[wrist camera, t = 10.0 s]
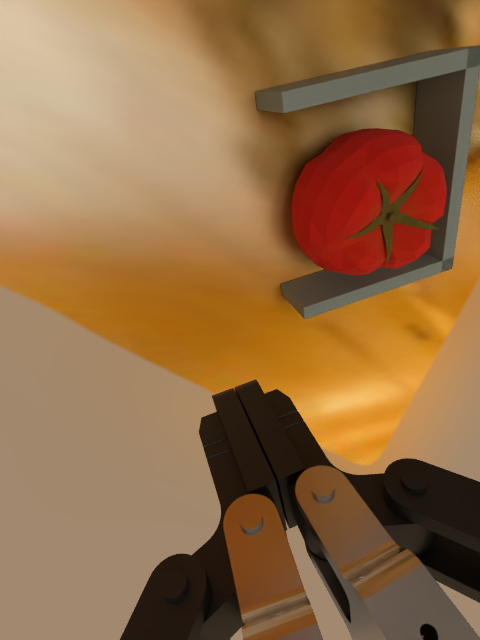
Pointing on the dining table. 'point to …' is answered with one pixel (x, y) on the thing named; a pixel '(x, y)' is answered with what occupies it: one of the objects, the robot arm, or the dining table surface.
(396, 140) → the tomato
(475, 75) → the crate
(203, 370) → the dining table surface
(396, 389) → the dining table surface
